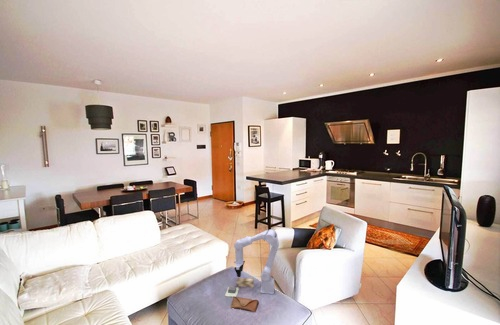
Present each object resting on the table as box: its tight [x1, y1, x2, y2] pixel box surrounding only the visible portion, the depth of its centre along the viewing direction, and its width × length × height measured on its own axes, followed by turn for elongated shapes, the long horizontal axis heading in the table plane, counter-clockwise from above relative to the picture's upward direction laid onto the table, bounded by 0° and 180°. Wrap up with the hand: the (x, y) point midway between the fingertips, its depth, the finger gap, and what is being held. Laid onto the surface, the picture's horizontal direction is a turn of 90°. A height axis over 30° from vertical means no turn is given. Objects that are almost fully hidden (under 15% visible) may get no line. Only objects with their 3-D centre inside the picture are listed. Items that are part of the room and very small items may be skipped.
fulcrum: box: [224, 286, 240, 298], centre depth 162 cm, size 8×10×3 cm
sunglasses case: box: [230, 296, 260, 313], centre depth 148 cm, size 18×7×7 cm, turn 77°
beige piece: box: [236, 277, 255, 288], centre depth 169 cm, size 12×3×5 cm, turn 82°
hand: (240, 273), depth 168 cm, fingers open, 7 cm apart
